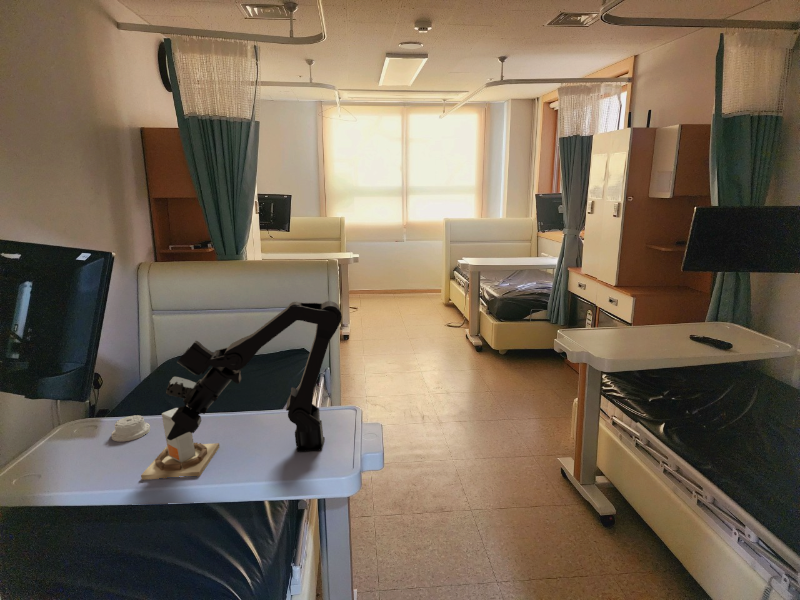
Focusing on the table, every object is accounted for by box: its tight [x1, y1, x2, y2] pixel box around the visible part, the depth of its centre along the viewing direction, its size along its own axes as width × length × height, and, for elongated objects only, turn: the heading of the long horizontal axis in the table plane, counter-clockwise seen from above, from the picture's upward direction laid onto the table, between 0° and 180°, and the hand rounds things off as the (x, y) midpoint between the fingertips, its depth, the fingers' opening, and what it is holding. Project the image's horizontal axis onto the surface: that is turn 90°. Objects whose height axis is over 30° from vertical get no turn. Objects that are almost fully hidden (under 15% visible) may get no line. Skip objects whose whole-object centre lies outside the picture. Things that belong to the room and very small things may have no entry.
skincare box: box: [161, 407, 196, 463], centre depth 125 cm, size 6×4×12 cm
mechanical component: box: [111, 414, 151, 443], centre depth 144 cm, size 10×4×10 cm
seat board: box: [140, 442, 220, 481], centre depth 126 cm, size 14×14×2 cm
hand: (172, 432), depth 124 cm, fingers closed on skincare box, 7 cm apart
